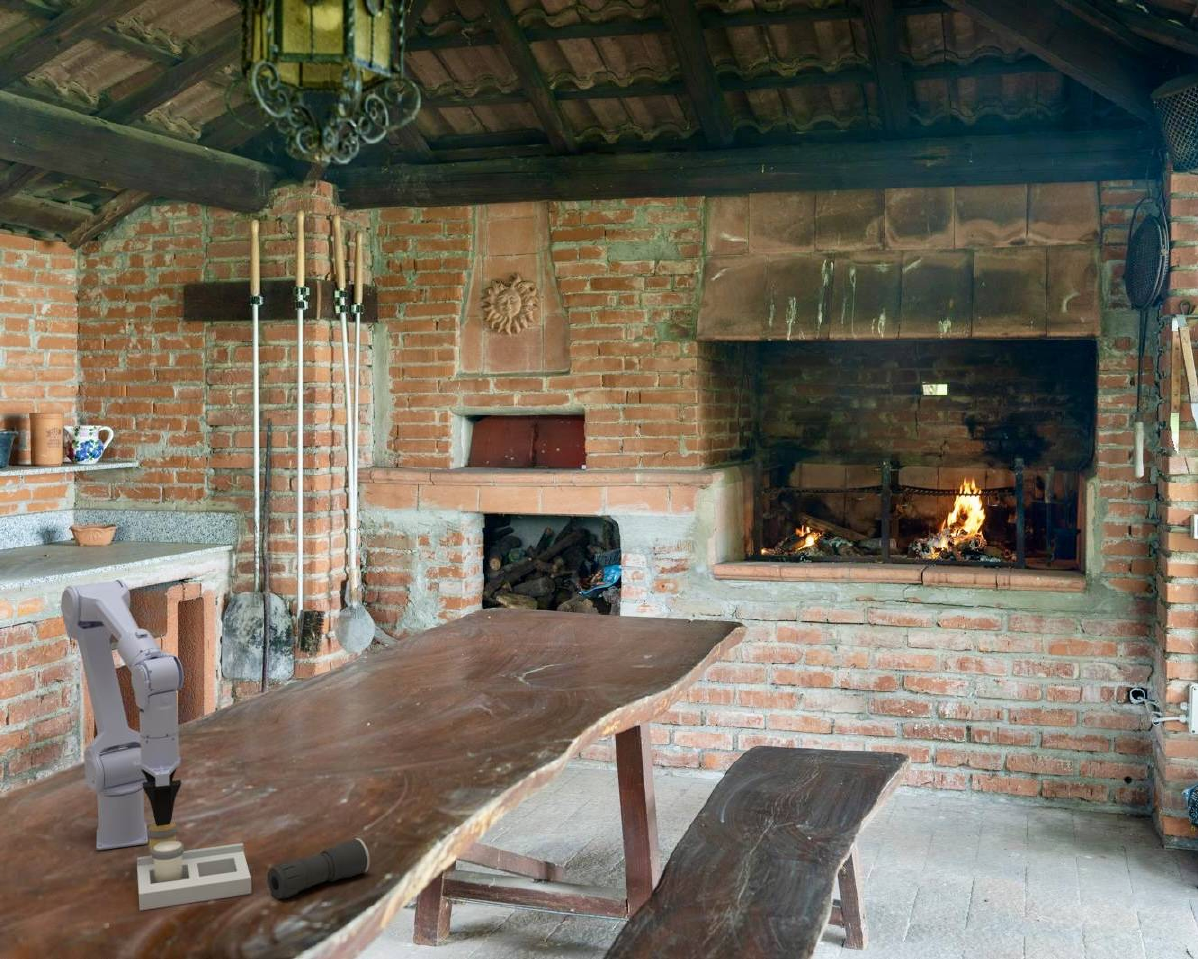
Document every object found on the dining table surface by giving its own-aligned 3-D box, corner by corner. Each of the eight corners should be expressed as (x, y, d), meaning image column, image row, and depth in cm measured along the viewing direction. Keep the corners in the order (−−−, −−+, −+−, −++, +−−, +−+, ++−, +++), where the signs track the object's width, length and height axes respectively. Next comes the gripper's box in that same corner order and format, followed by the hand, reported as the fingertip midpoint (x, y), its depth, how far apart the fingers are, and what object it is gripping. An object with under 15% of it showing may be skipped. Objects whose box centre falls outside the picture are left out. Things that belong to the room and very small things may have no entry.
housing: (137, 879, 194) (136, 857, 193) (243, 864, 200) (242, 843, 199) (139, 910, 183) (138, 887, 182) (251, 893, 189) (250, 871, 188)
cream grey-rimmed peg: (153, 886, 191) (151, 842, 191) (184, 881, 193) (182, 838, 192) (153, 898, 187) (151, 853, 186) (185, 893, 189) (183, 849, 188)
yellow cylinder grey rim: (147, 864, 199) (146, 822, 199) (178, 860, 201) (176, 819, 200) (148, 875, 195) (147, 833, 194) (179, 871, 197) (178, 829, 196)
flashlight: (282, 906, 185) (281, 871, 184) (264, 894, 189) (263, 860, 188) (370, 876, 195) (369, 843, 195) (351, 866, 199) (350, 834, 199)
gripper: (131, 723, 201) (134, 804, 202) (133, 749, 188) (136, 835, 189) (177, 718, 204) (179, 798, 205) (182, 743, 190) (185, 829, 192)
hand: (162, 816), depth 197 cm, fingers open, 7 cm apart
